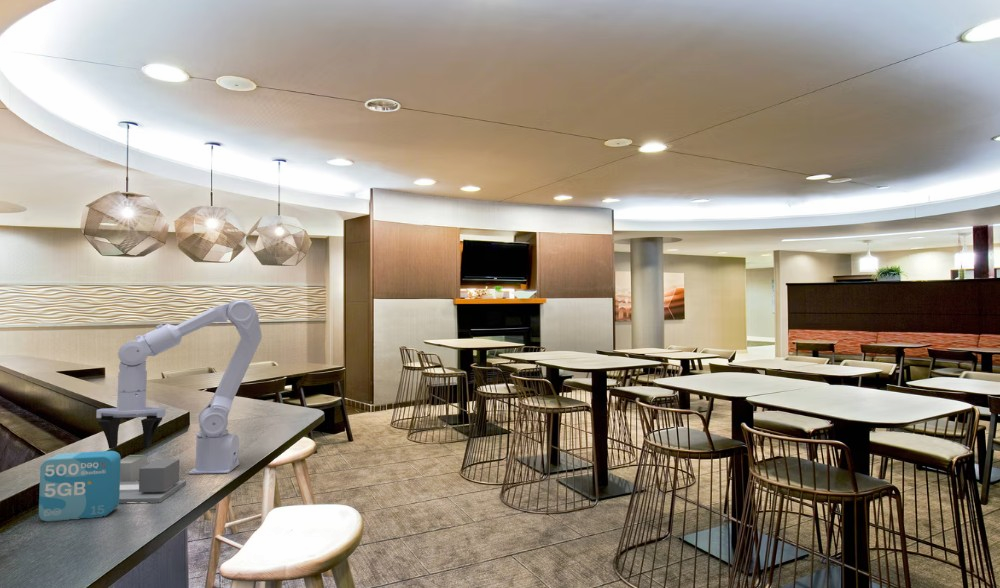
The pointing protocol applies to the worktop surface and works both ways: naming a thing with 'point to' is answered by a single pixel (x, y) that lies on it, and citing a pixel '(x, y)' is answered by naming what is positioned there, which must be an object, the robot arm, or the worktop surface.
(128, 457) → the module
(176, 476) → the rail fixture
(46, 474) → the data package
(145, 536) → the worktop surface
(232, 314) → the robot arm
